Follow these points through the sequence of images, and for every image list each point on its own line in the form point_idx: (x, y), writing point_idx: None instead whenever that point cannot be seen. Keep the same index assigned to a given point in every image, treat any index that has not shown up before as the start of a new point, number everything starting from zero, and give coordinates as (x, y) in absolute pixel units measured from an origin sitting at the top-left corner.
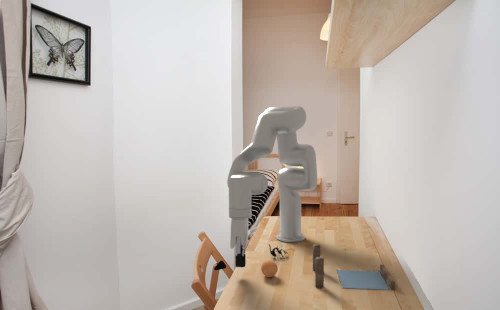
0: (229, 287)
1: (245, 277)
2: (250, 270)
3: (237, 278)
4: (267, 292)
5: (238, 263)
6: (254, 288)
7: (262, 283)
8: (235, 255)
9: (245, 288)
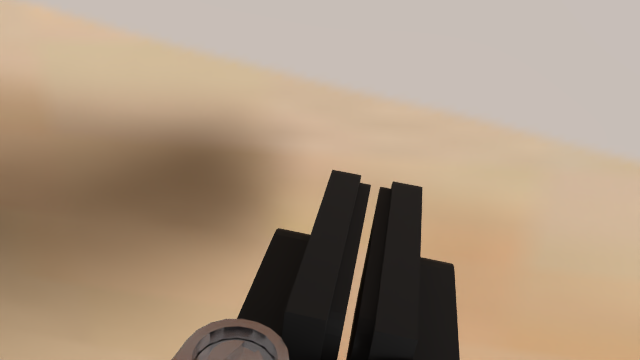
0: (30, 7)
1: None
2: (553, 299)
3: (304, 120)
4: (7, 351)
5: (268, 253)
6: (60, 269)
7: (177, 350)
8: (286, 308)
9: (43, 189)
